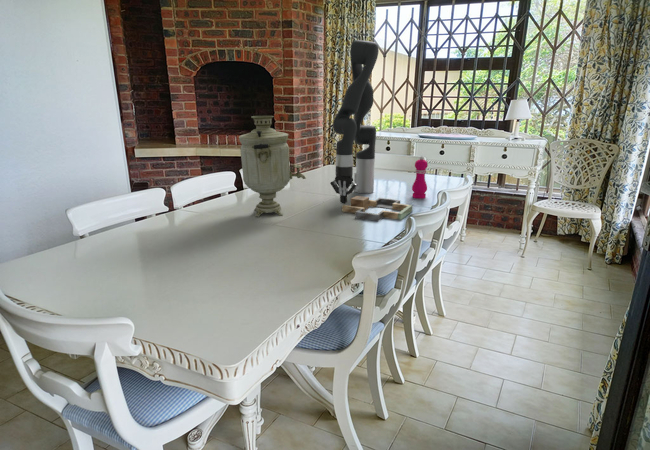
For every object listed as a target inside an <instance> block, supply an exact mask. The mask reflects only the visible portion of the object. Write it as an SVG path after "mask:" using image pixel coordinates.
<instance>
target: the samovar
mask: <svg viewBox="0 0 650 450" xmlns="http://www.w3.org/2000/svg"><path fill="white" fill-rule="evenodd" d="M274 117H275V116H274V115H253V116H251V119H253V122H254V123H253V124H254V125H255V127H256V128H254V129H252V130H251V132H248V133H245V134H241V135H239V136H238V140H239V142H240V144H241V146H240V150H239V151H240V158H241V160H240V161H241V172H242V180H243V182H244V185H245V186H246V187H247V188H248V189H250V190H252V191H253V192H254V193H258V194H259V199H261V201H259V202H258V203H257V204H256V205H255V208H254V211H255V212H256V213H255V215H254V217H255V218H259V217H260V216H261V215H262V214H263V213H266V214H268V213H276V214H277V215H278V216H279V217H280V216H282V217H283V216H284V214H283V213H282V212H281V210H282V208H281V204H280V203H278V201H276V200H274V199H275V198H277V193H278V192H280V191H282V190H283V189H285V187H286V186H288V184H289V183H290V180H292V179H293V177H296V178H297V179H302V180H305V179H307V177H306V176H305V175H304V174H302V173H301V172H300V168H303V167H302V166H303V165H300V164H294V165H293V167H294V169H296V173H293V172H292V171H291V169H290V168H291V166H290V149H289V146H290V145H288V143H287V142H288V140H289V133H286V132H283V131H282V132H281V131H277V130H276V129H275V128H272V127H271V126H272V119H273V118H274Z"/></svg>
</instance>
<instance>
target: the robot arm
mask: <svg viewBox="0 0 650 450" xmlns="http://www.w3.org/2000/svg"><path fill="white" fill-rule="evenodd" d="M379 50H380V49H379V45H378V43H377V42H375V41H368V40H362V39H355V40H354V41H352V43H351V45H350V52H349V53H350V54H349V56H350V65H351V67H350V68H351V74H352V83H351V84H350V85H349V86H348V87H347V89H346V91H345V94H344V97H343V101H342V105H341V106H340V109H339V110H338V112H337V114H336V116H335V117H334V119H333V123H332V125H333V126H332V128H333V132H334V133H336V134H337V135H343V136H342V138H341V139H340V140H338V141H337V142H336V147H335V177H334V180H333V181H330V185H331V187H332V189H333V190H334V191H335V193H336V194H339V201H340V204H343V205H346V203H347V202H348V195H351V194H352V193H353V192H355V193H359V194H372V193H374V189H375V184H374V183H375V162H376V159H375V157H376V141H377V140H376V139H377V128H376V126H375V125H364V124H363V125H362V122H363V120H364V118H365V117H366V115H367V114H368V113H369V112H370V110H371V109H372V107H373V105H374V89H373V86H372V84H371V81H370V77H371V75H372V73H373V70H374V67H375V65H376V63H377V60H378V56H379ZM352 115H353V116H354V118H352V117H351V116H352ZM354 143H355V144H356V145H368V147H366V148H364V149H362V150H360V151H359V150H358V151H357V152H356V155H355V157H356V161H355V162H356V163H355V173H353V172H354V171H353V170H354V156H353V152H354V151H353V149H354V148H353V145H354ZM353 175H354V177H353Z"/></svg>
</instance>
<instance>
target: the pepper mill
mask: <svg viewBox="0 0 650 450" xmlns="http://www.w3.org/2000/svg"><path fill="white" fill-rule="evenodd" d="M428 166H429V165H428V161H427V160H426V159H424V156H422V155H420V157H419V159H418V160H416V161H415V162H414V168H415V173H416V174H415V180H414V182H413V184H412V187H411V190H412V192H413V193H412V198H414V199H418V200H419V199H426V196H427V195H426V192H427V191H428V185H427V181H426V179H425V178H426V177H425V176H426V173H427V170H426V169H427V168H428Z"/></svg>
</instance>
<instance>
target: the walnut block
mask: <svg viewBox="0 0 650 450" xmlns="http://www.w3.org/2000/svg"><path fill="white" fill-rule="evenodd" d="M369 200H370V197H368V196H362V195H361V196H360V195H356V196H354V197H352V198H350V206H355V207H362V208H365V211H366V210H368V209H370V208H369V207H370V206H369Z"/></svg>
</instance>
